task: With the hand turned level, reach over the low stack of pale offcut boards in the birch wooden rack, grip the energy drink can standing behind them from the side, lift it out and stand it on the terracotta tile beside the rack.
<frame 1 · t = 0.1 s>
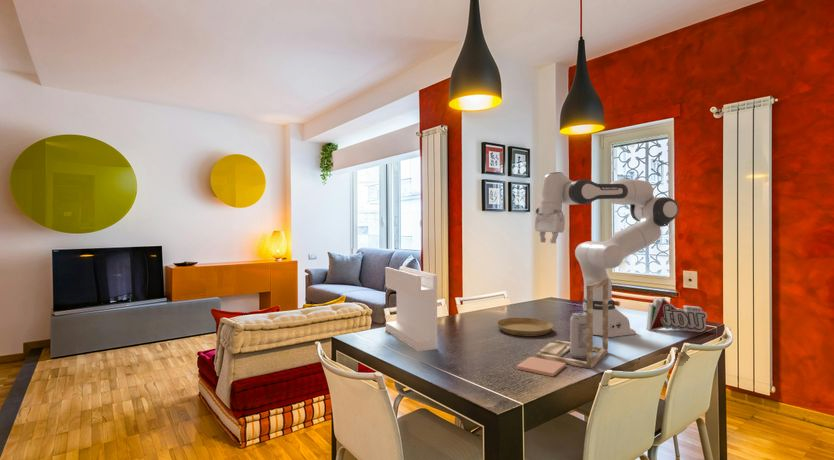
hand: (547, 242, 185), 39 cm above the table, tool pointing down, fingers open, 8 cm apart
plant saucer: (524, 331, 192), on the table
decorative sign: (676, 331, 191), on the table
block: (409, 339, 179), on the table
energy drink can: (579, 356, 155), on the table
birch rack: (569, 354, 157), on the table
terracotta tile: (541, 367, 143), on the table
offcut stack: (554, 351, 160), on the table
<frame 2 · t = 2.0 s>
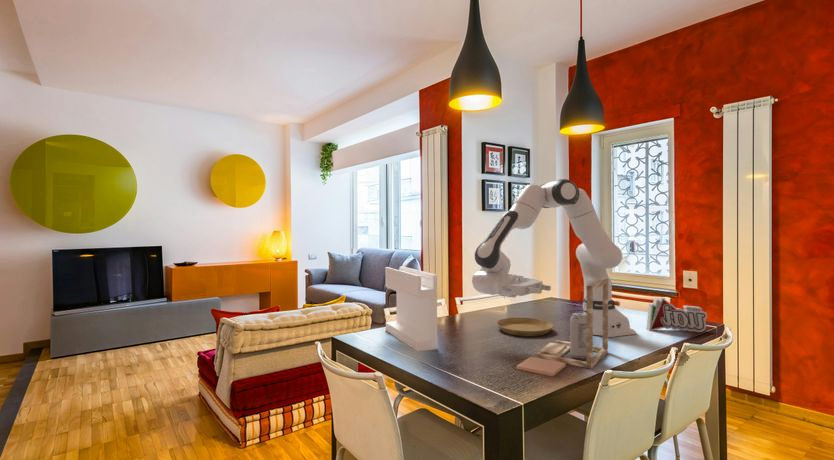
hand: (545, 289, 162), 23 cm above the table, tool horizontal, fingers open, 8 cm apart
nothing on the table moved.
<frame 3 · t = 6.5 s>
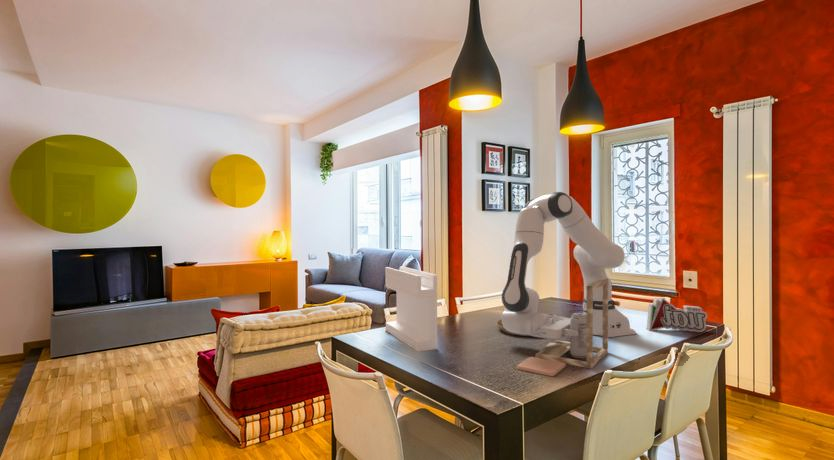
hand: (581, 331, 154), 9 cm above the table, tool horizontal, fingers closed on energy drink can, 6 cm apart
energy drink can: (579, 356, 155), on the table, touching gripper
everything else where it was.
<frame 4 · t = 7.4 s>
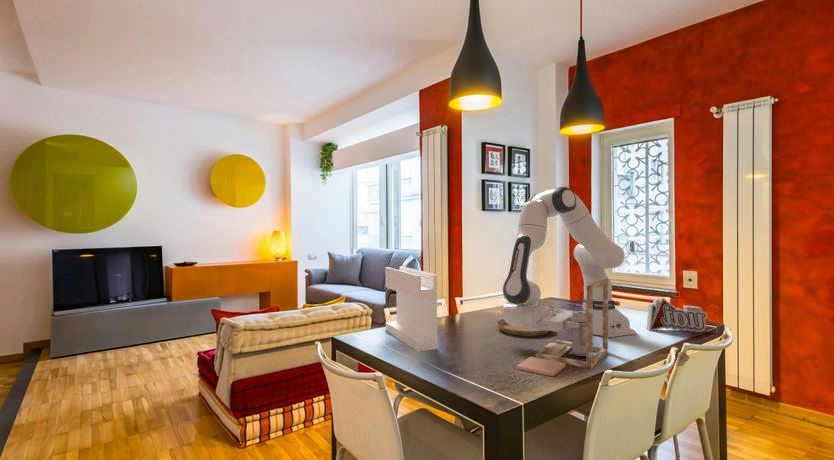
hand: (582, 323, 154), 12 cm above the table, tool horizontal, fingers closed on energy drink can, 6 cm apart
energy drink can: (581, 354, 155), point 1 cm above the table, touching gripper
everything else where it was.
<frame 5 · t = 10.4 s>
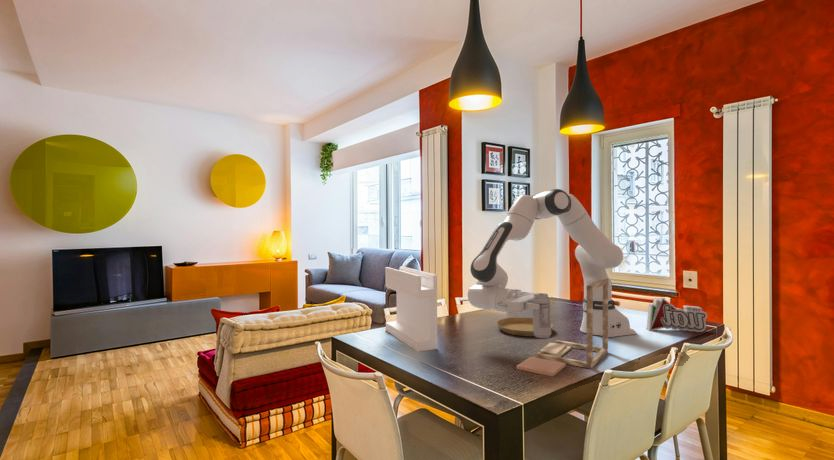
hand: (543, 305, 155), 18 cm above the table, tool horizontal, fingers closed on energy drink can, 6 cm apart
energy drink can: (542, 336, 155), point 7 cm above the table, touching gripper
everything else where it was.
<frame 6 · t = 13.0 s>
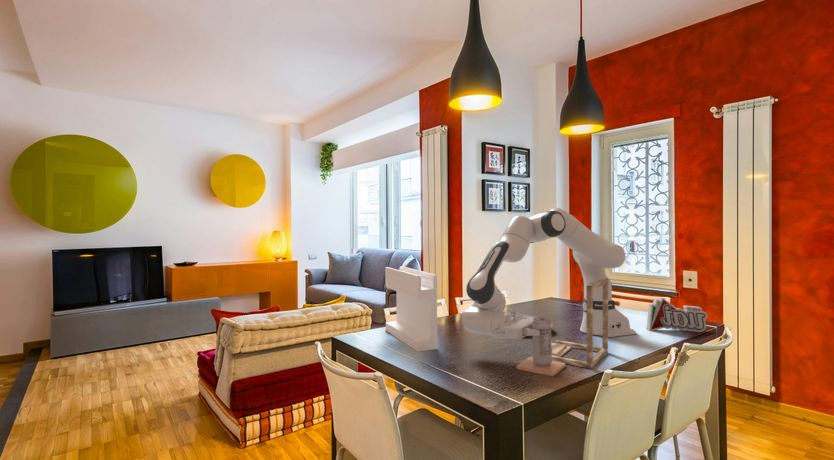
hand: (544, 330, 142), 12 cm above the table, tool horizontal, fingers closed on energy drink can, 6 cm apart
energy drink can: (542, 364, 143), point 1 cm above the table, touching gripper, terracotta tile
everything else where it was.
when the fingers open (12 cm above the table, at t = 13.0 s): energy drink can stays where it is, resting on terracotta tile.
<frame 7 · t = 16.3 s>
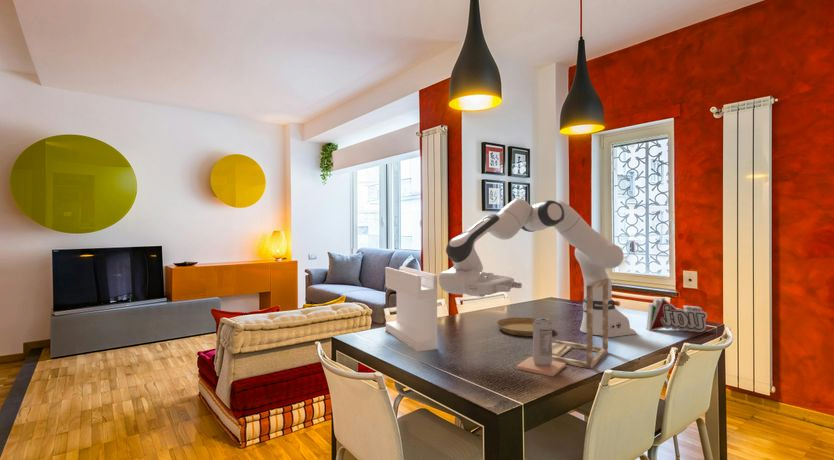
hand: (515, 287, 148), 26 cm above the table, tool horizontal, fingers open, 8 cm apart
energy drink can: (542, 364, 143), point 1 cm above the table, touching terracotta tile
everything else where it was.
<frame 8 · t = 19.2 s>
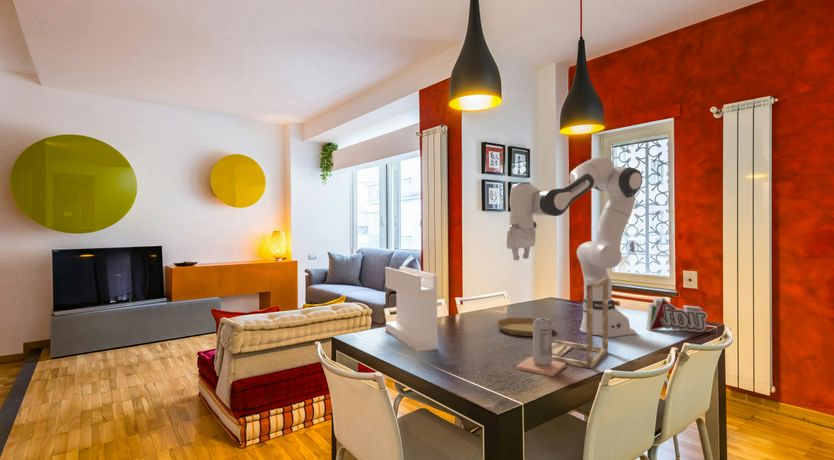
hand: (521, 259, 170), 33 cm above the table, tool pointing down, fingers open, 8 cm apart
nothing on the table moved.
at the end: energy drink can 0.4 cm from the terracotta tile (horizontally); energy drink can tilted 0°; energy drink can touching terracotta tile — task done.
